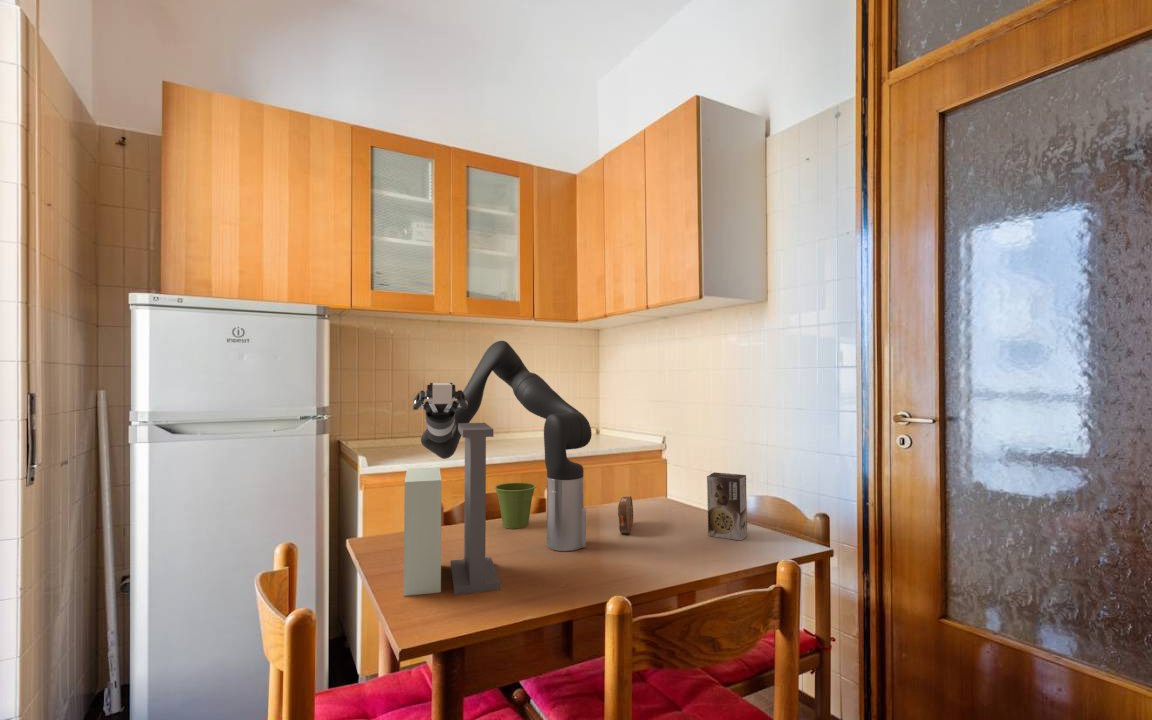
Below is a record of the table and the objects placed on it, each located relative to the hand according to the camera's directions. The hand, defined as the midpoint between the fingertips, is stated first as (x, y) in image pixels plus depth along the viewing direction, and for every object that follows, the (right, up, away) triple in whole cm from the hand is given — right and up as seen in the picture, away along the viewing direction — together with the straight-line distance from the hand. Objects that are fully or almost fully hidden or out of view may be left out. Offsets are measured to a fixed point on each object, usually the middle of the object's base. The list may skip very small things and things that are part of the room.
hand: (441, 386), depth 131 cm
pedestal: (0, -40, -16) cm, 43 cm away
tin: (+46, -41, +22) cm, 66 cm away
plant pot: (+15, -41, +25) cm, 51 cm away
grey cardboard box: (+73, -41, +16) cm, 85 cm away
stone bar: (+1, -3, -4) cm, 5 cm away
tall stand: (+11, -40, -15) cm, 44 cm away
